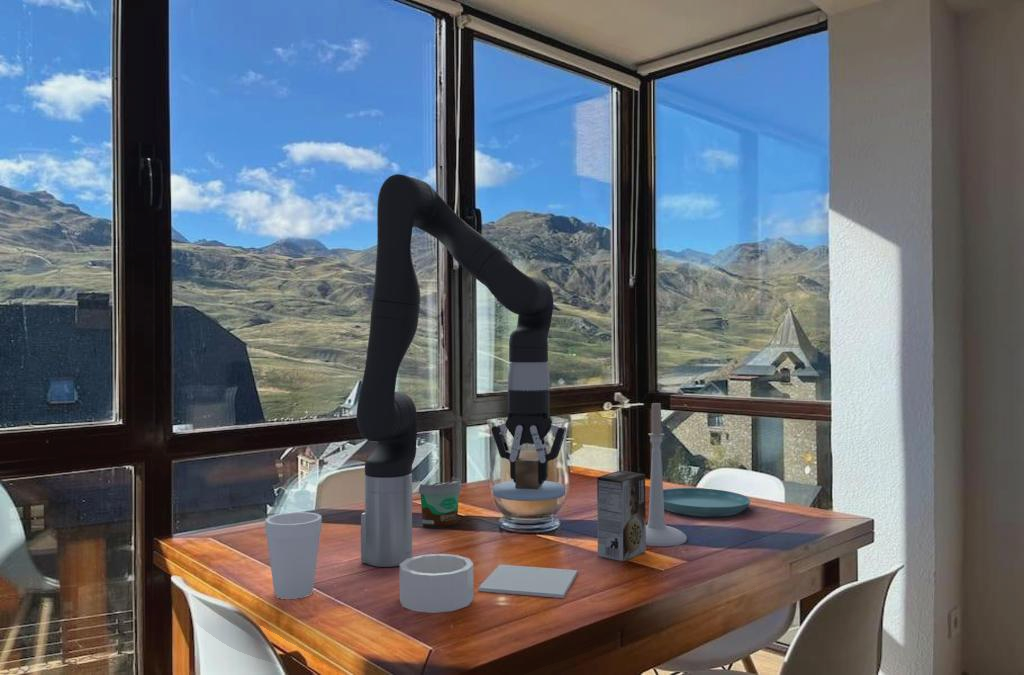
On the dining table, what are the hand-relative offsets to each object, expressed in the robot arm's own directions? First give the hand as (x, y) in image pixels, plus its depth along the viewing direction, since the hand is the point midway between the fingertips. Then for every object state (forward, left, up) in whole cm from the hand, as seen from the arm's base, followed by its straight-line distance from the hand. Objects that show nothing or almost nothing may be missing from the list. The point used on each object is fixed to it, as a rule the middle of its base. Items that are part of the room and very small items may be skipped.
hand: (529, 482), depth 139 cm
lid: (0, 0, -2) cm, 2 cm away
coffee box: (+14, +22, -18) cm, 32 cm away
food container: (-29, +37, -18) cm, 50 cm away
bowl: (-13, -13, -18) cm, 26 cm away
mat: (0, 0, -18) cm, 18 cm away
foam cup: (-38, -16, -18) cm, 45 cm away
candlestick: (+20, +36, -18) cm, 45 cm away
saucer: (+29, +69, -19) cm, 77 cm away
